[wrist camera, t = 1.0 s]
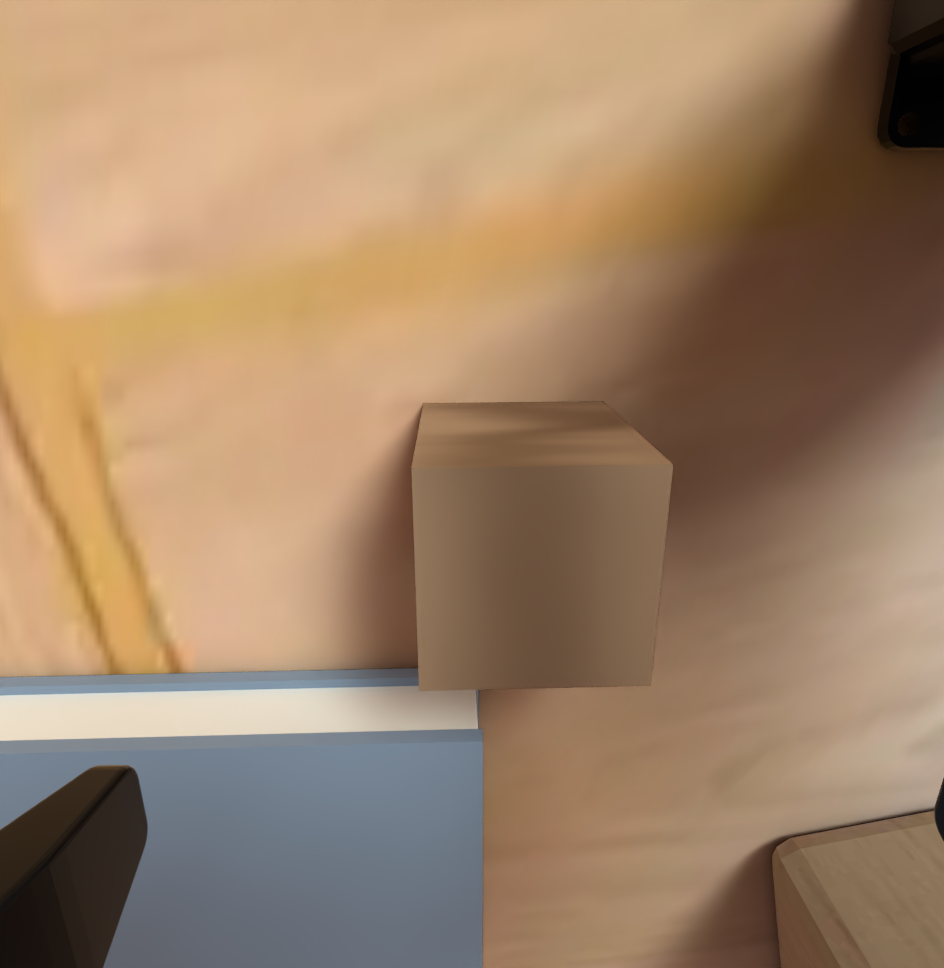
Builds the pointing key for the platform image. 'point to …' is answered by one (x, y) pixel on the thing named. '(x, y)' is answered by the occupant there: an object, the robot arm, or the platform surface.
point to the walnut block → (536, 546)
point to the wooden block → (862, 896)
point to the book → (274, 811)
